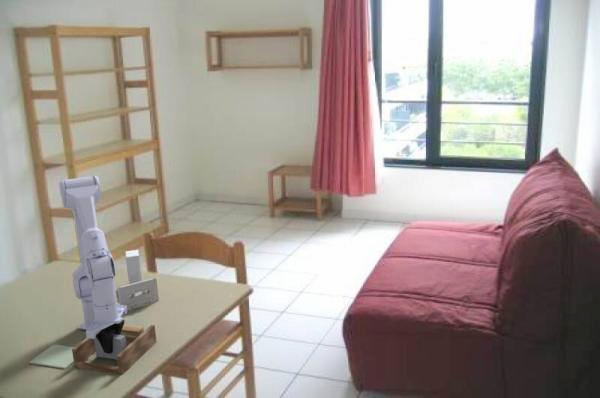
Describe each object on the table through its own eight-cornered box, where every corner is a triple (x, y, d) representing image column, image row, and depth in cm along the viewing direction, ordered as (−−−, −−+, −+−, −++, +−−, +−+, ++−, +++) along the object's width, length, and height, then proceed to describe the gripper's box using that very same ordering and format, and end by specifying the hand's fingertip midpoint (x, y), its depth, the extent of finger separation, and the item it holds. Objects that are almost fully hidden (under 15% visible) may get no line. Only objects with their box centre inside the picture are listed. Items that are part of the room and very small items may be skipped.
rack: (112, 336, 162) (109, 319, 161) (156, 342, 158) (154, 325, 156) (74, 366, 147) (71, 349, 146) (122, 374, 143) (120, 356, 142)
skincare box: (129, 284, 196) (125, 251, 193) (142, 282, 197) (138, 249, 194) (129, 291, 190) (125, 257, 187) (143, 289, 192) (139, 255, 188)
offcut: (117, 338, 161) (115, 323, 160) (145, 342, 158) (144, 327, 157) (111, 342, 159) (109, 327, 157) (140, 346, 156) (139, 331, 155)
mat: (53, 345, 158) (53, 344, 158) (88, 350, 155) (88, 349, 154) (29, 363, 150) (29, 362, 149) (65, 369, 146) (65, 367, 146)
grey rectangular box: (101, 352, 153) (98, 331, 151) (127, 356, 150) (125, 335, 149) (96, 356, 151) (93, 335, 149) (123, 360, 149) (120, 339, 147)
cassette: (157, 299, 184) (155, 276, 182) (159, 301, 183) (157, 278, 181) (119, 310, 178) (116, 286, 176) (121, 312, 176) (118, 288, 174)
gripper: (100, 316, 139) (107, 367, 142) (134, 291, 152) (140, 338, 156) (75, 313, 141) (83, 363, 144) (111, 288, 154) (117, 335, 158)
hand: (111, 350), depth 150 cm, fingers closed on grey rectangular box, 2 cm apart
